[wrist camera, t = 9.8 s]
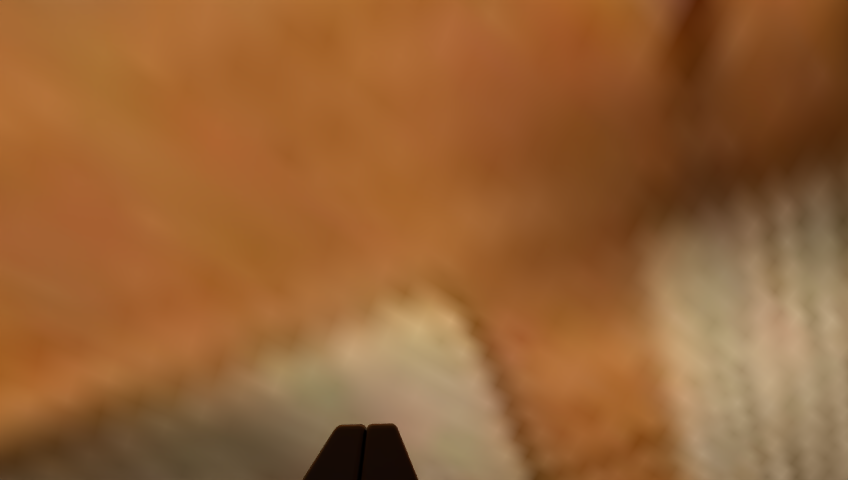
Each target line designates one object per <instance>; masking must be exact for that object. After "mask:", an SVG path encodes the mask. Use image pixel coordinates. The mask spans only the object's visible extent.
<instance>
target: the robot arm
mask: <svg viewBox="0 0 848 480" xmlns="http://www.w3.org/2000/svg"><path fill="white" fill-rule="evenodd" d="M303 480H418V478H417V475H416V473H415V470H414V468H413V465H412V463H411V460H410V458H409V456H408V453H407V451H406V448H405V446H404V443H403V441H402V438H401V436H400V433H399V431H398V428H397V427H396V425H394V424H391V423H389V424H370V425H369V426H368V427H367V428H366V427H365V426H364V425H362V424H352V425H339V426H338V427H336V428H335V430H334V431H333V433H332V434H331V436H330V437H329V439H328V440H327V442H326V444H325V445H324V447H323V448H322V450H321V451H320V453H319V455H318V456H317V458H316V459H315V461H314V462H313V464H312V465H311V467H310V469H309V470H308V472H307V473H306V475H305V476H304V478H303Z"/></svg>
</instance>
